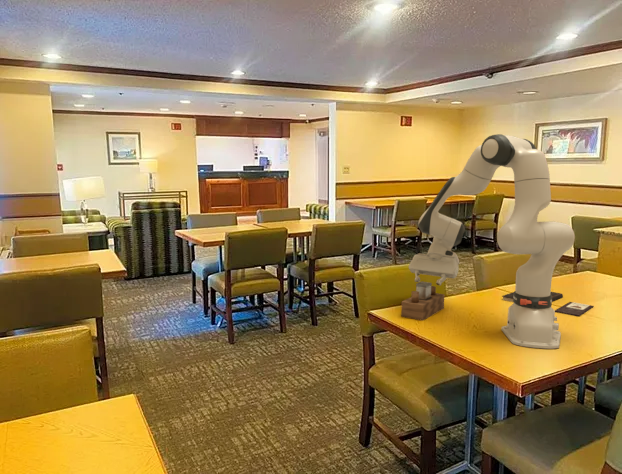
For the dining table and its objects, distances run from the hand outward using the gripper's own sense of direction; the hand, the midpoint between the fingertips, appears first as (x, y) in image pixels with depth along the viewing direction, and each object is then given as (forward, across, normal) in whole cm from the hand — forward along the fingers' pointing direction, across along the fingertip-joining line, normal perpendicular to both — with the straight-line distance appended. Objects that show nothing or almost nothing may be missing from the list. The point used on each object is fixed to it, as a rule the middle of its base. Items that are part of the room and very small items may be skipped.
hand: (427, 282), depth 191 cm
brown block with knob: (+10, 0, +6) cm, 12 cm away
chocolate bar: (-17, +47, +34) cm, 61 cm away
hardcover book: (-22, +30, +40) cm, 54 cm away
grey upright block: (+8, 0, +4) cm, 9 cm away
